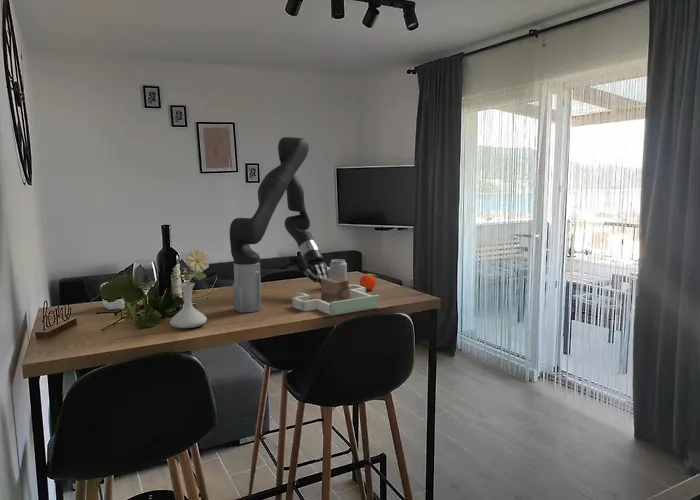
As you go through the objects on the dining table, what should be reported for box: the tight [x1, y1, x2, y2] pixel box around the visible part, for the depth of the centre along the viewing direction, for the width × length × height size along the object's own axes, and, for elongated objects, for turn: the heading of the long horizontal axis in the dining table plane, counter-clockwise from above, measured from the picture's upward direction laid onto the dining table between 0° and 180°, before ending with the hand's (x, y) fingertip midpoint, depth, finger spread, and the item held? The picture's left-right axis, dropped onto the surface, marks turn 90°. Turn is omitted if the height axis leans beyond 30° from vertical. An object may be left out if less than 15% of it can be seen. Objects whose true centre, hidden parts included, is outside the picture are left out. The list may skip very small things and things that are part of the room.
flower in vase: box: [169, 248, 211, 329], centre depth 161 cm, size 13×11×25 cm
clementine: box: [359, 273, 379, 291], centre depth 213 cm, size 8×7×7 cm
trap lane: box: [291, 283, 380, 316], centre depth 190 cm, size 32×27×4 cm
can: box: [329, 258, 348, 281], centre depth 219 cm, size 8×8×12 cm
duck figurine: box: [100, 281, 126, 311], centre depth 184 cm, size 12×8×11 cm
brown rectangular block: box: [320, 277, 350, 303], centre depth 191 cm, size 6×10×9 cm, turn 34°
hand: (326, 289), depth 196 cm, fingers closed
